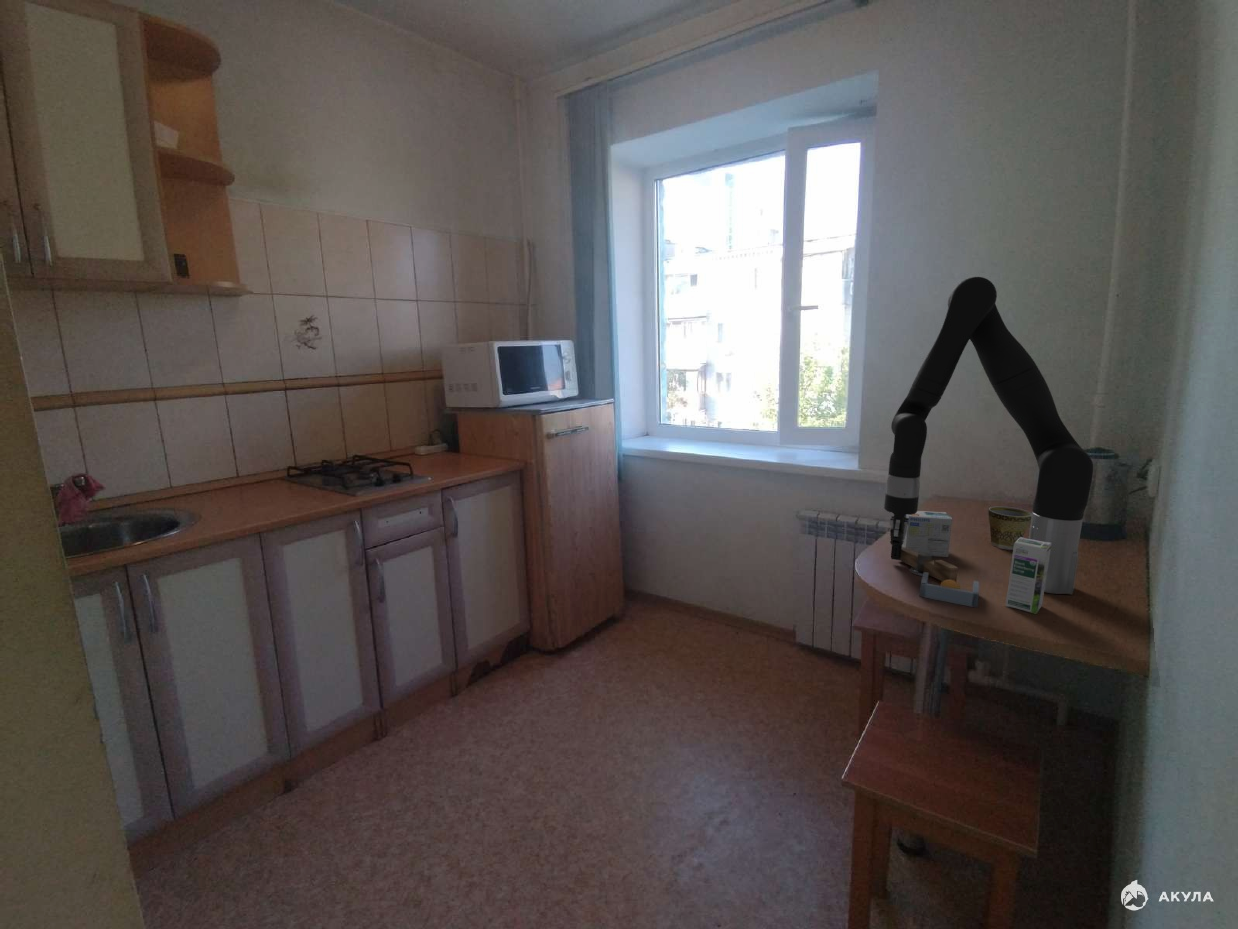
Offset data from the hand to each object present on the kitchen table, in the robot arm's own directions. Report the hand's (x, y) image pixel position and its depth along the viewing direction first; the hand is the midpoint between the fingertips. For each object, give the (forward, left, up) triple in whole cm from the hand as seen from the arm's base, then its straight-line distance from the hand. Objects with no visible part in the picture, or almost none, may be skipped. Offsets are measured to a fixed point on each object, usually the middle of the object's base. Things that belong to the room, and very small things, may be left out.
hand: (895, 558), depth 148 cm
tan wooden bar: (-7, +2, -2) cm, 7 cm away
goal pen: (-13, +14, -2) cm, 19 cm away
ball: (-12, +17, 0) cm, 21 cm away
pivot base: (-7, +2, -2) cm, 7 cm away
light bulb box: (-6, -14, -2) cm, 15 cm away
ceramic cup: (-25, -32, -2) cm, 40 cm away
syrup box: (-27, +12, -2) cm, 29 cm away
